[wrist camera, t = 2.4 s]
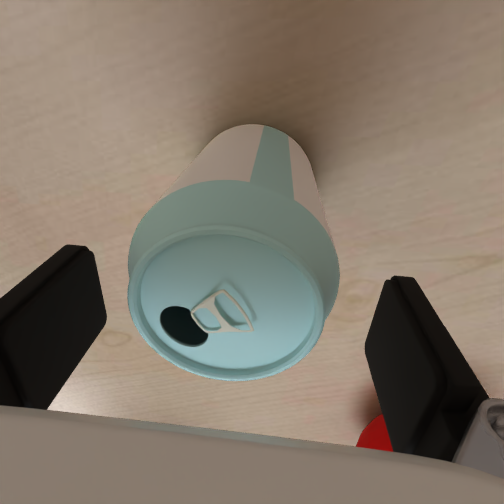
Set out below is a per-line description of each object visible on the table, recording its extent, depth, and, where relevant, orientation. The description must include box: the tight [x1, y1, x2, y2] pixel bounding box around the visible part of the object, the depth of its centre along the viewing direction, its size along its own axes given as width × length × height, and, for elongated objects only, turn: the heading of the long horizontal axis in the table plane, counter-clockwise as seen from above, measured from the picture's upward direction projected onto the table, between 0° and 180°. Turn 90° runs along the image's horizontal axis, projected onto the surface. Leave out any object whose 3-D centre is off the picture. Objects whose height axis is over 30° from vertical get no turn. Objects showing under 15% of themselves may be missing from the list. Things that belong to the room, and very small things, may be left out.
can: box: [128, 124, 340, 381], centre depth 15 cm, size 7×7×12 cm
